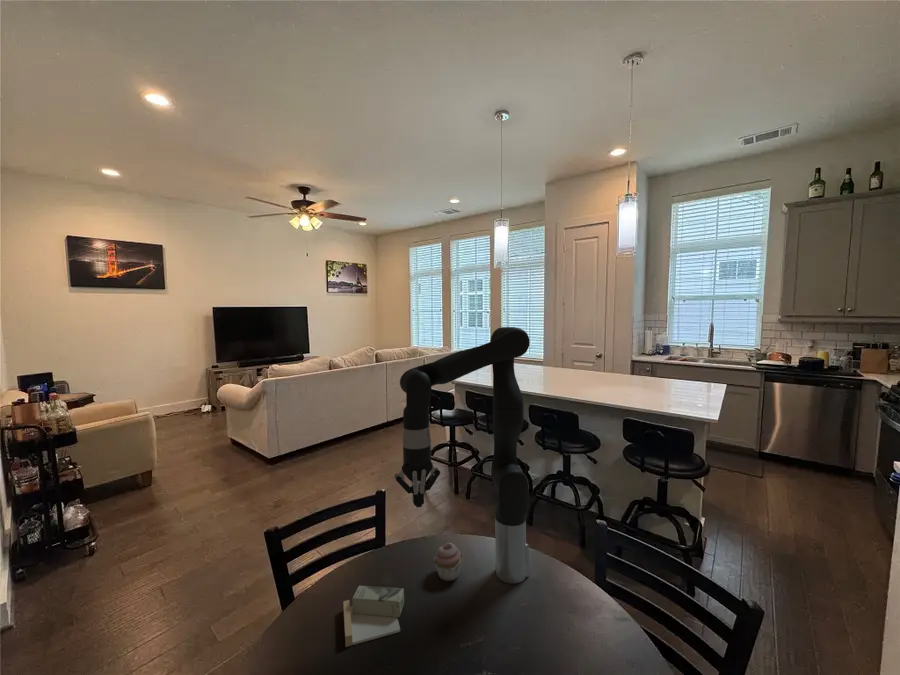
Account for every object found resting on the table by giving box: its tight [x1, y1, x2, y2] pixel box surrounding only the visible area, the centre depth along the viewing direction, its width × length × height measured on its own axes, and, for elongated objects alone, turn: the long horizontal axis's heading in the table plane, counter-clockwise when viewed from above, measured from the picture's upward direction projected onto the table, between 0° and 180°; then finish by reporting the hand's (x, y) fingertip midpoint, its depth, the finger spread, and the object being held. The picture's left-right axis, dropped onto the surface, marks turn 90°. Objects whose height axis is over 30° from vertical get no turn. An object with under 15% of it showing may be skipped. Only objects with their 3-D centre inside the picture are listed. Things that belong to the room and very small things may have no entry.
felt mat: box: [342, 599, 401, 648], centre depth 95 cm, size 13×12×2 cm
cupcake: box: [433, 542, 465, 582], centre depth 112 cm, size 9×9×10 cm
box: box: [351, 585, 405, 618], centre depth 98 cm, size 5×4×13 cm
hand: (418, 505), depth 100 cm, fingers closed
